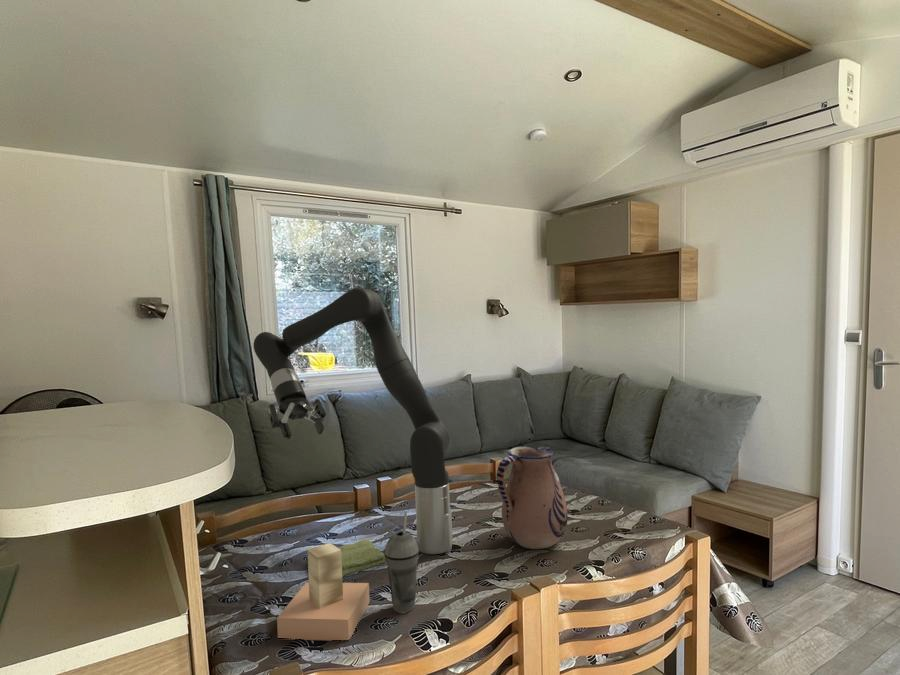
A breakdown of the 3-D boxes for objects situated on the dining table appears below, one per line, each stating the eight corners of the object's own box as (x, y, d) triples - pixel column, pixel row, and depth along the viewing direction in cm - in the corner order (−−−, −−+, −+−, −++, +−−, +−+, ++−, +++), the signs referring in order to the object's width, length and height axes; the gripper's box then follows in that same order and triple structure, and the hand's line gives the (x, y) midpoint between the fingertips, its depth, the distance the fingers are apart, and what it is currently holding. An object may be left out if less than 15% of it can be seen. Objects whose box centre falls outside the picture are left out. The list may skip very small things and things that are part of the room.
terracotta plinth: (369, 601, 107) (368, 583, 107) (348, 641, 93) (348, 619, 93) (307, 600, 109) (306, 582, 109) (277, 639, 95) (277, 618, 95)
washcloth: (305, 565, 128) (304, 552, 128) (370, 547, 137) (369, 535, 137) (320, 585, 116) (319, 571, 116) (389, 565, 125) (388, 552, 125)
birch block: (332, 590, 105) (330, 542, 105) (343, 599, 101) (341, 550, 101) (309, 599, 102) (307, 550, 102) (320, 608, 98) (317, 557, 98)
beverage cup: (387, 599, 108) (383, 507, 108) (421, 597, 108) (417, 505, 108) (385, 618, 100) (381, 519, 100) (421, 615, 101) (417, 516, 101)
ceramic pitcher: (581, 540, 135) (577, 447, 135) (537, 568, 119) (533, 464, 119) (527, 525, 147) (523, 440, 147) (481, 549, 131) (477, 455, 131)
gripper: (264, 381, 131) (281, 429, 122) (315, 377, 140) (335, 422, 131) (258, 400, 135) (274, 448, 126) (308, 394, 144) (327, 439, 135)
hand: (305, 434), depth 129 cm, fingers open, 8 cm apart
